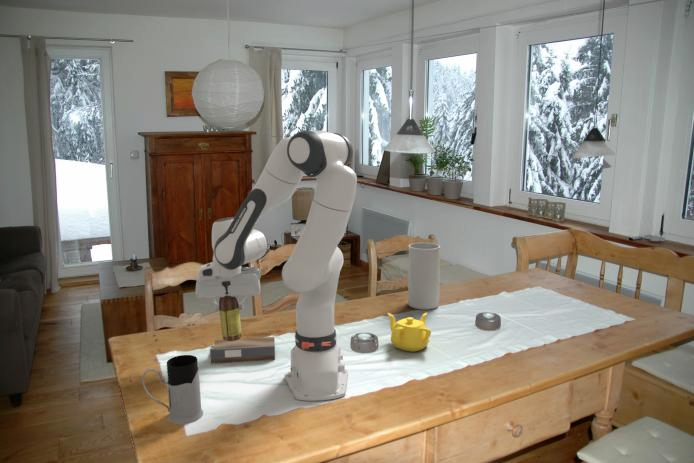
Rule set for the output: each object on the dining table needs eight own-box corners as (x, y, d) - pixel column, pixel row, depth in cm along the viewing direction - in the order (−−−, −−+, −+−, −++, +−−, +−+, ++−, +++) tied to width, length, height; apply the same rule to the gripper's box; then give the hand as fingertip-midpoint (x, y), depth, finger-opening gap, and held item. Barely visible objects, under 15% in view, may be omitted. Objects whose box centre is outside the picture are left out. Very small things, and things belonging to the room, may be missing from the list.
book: (275, 359, 179) (274, 355, 179) (210, 363, 177) (210, 359, 176) (274, 340, 195) (274, 336, 195) (215, 344, 192) (215, 340, 192)
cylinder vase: (440, 310, 225) (442, 249, 220) (409, 310, 225) (410, 249, 221) (436, 300, 237) (437, 242, 233) (406, 300, 238) (407, 242, 233)
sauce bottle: (244, 335, 186) (241, 277, 182) (237, 342, 180) (233, 283, 176) (226, 334, 187) (222, 276, 183) (218, 341, 181) (214, 282, 177)
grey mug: (204, 421, 143) (200, 365, 140) (144, 430, 139) (139, 373, 136) (202, 404, 151) (199, 352, 148) (146, 413, 147) (142, 358, 144)
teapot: (426, 338, 196) (427, 311, 194) (432, 353, 183) (433, 324, 181) (387, 338, 196) (387, 311, 194) (390, 354, 183) (390, 325, 181)
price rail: (275, 355, 179) (274, 346, 178) (210, 359, 176) (209, 350, 176) (274, 353, 180) (274, 344, 180) (210, 357, 178) (210, 348, 177)
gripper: (260, 264, 183) (261, 304, 186) (196, 266, 181) (198, 307, 183) (260, 269, 177) (261, 311, 180) (193, 271, 174) (195, 314, 177)
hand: (229, 309), depth 182 cm, fingers closed on sauce bottle, 6 cm apart
